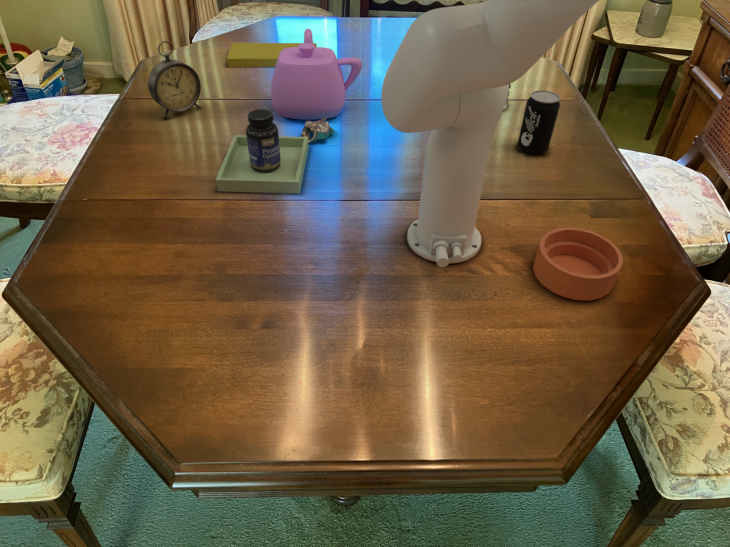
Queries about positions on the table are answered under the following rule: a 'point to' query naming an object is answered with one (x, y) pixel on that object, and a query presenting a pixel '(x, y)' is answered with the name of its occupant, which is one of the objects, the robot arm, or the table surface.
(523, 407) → the table surface
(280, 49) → the flat olive board
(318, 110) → the teapot
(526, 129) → the beverage can
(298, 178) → the tray
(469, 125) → the robot arm
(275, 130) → the pill bottle
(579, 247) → the bowl
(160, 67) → the alarm clock
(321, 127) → the ornament
